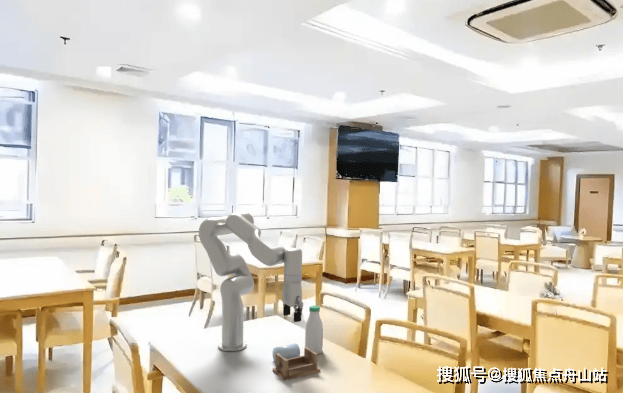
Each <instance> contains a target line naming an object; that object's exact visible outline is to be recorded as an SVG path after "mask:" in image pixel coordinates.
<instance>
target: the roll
mask: <svg viewBox="0 0 623 393" xmlns="http://www.w3.org/2000/svg"><path fill="white" fill-rule="evenodd" d="M277 353H279V354H280V355H282V356H283V357H285V358H286V359H290V358H294V357H299V356H301V349H300V346H299V344H298V343H291V344H286V345H283V346H277V347H273V348H272V359H273V361H274V362H275V363H276V354H277Z"/></svg>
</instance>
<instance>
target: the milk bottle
mask: <svg viewBox="0 0 623 393" xmlns="http://www.w3.org/2000/svg"><path fill="white" fill-rule="evenodd" d="M320 309H321V308H320V306H319V305H311V306H309V309H308V310H309V311H308V312H309V315H308V316H307V317H308V318H307V320H306V322H305V330H304V331H305V332H304V333H305V334H304V335H305V336H304V339H305V340H304V348H305V347H308V348H309V349H311V350H312V351H314V352H316V353H317V355H319V354H322V352H323V341H324V340H323V339H324V338H323V335H324V332H323V331H324V326H323V322H322V319H321V317H320V316H321V315H320V313H321V312H320Z"/></svg>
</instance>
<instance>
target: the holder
mask: <svg viewBox="0 0 623 393" xmlns="http://www.w3.org/2000/svg"><path fill="white" fill-rule="evenodd" d="M303 349H304V351H303V352H304V355H300V356H299V357H294V358H290V359H286V358H285V357H283V356H282V355H280V354H279V353H277V354H276V362H275V367H273V368H272V372H274V373H275V374H276V375H277V376H278V377H280V378H281V379H282V380H283V381H288V380H293V379H296V378H300V377H304V376H308V375H312V374H313V375H314V374H317V373H320V372H321V368H319V367H318V354H317V353H316V352H314V351H312V350H311V349H309V348H308V347H305V346H304V348H303Z"/></svg>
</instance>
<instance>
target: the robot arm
mask: <svg viewBox="0 0 623 393" xmlns="http://www.w3.org/2000/svg"><path fill="white" fill-rule="evenodd" d="M229 234H234V235H235V236H236V237H238V238H239V239H240V240H242V241H243V243H245V244H247V247H248V250H249V252H250V254H251V255H252V256H253V257H254V258H256V259H257V261H259V262H260V263H262V264H263V265H265V266H268V267H272V266H273V267H274V266H277V265H281V264H283V283H282V291H281V292H282V293H281V302H282V308H283V311H282V316H285V317H286V316H290V315H291V308H293V309H294V310H293V311H294V312H293V322H294V323H298V322H299V323H300V322H302V312H303V309H304V308H303V307H304V302H303V292H302V291H303V290H302V288H303V287H302V280H303V274H302V273H303V251H302V249H301V248H298V247H289V246H284V245H277V246H272V247H270V246H268V245H266V244H265V243H264V242H263V241H262V240H261V239H260V237H261V236H262V230H261V228H260V227H258V226H256V225H255V219H254V217H253V216H252V215H251V214H250V213H249V212H247V211H242V212H241V211H239V212H233V213H230V214H229V215H227V216H216V217H209V218H206V219H204V220H203V221H201V223H200V225H199V228H198V238H199V240H200V243H201V245H202V247H203V248H204V250H205V252H206V253H207V256H208V258H209V260H210V263H211V265H212V268H213V270H214V271H215V273H216V275H218V276H219V277H227V276H230V277H227V278H225V279H224V280H223V281H222V282H221V283H220V288H219V290H220V296H221V297H220V298H221V315H222V316H221V341H220V342H218V345H217V347H218V349H219V350H221V351H224V352H238V351H242V350H243V349H245V348H247V345H248V344H247V342H246V341H245V340H244V316H245V315H244V311H245V310H244V309H245V308H244V303H243V301H242V296H245V295H247V294H250V293H251V292H252V291H253V290H254V289H255V281H254V278H253V275H252V273H251V271H250V269H249V267H248V264H247V263H246V260H245V259H244V258H243V256H242V255H241V254H239V253H234V252H232V253H229V252H228V251H227V249H226V246H225V244H224V242H223V241H222V240H221V239H219V238H218V236H223V235H229ZM231 275H232V276H231Z"/></svg>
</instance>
